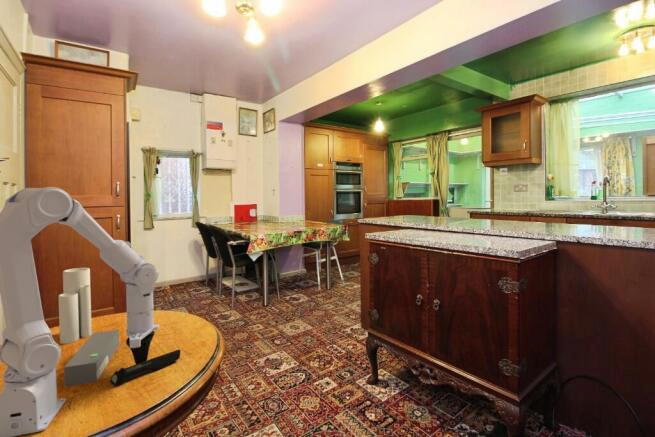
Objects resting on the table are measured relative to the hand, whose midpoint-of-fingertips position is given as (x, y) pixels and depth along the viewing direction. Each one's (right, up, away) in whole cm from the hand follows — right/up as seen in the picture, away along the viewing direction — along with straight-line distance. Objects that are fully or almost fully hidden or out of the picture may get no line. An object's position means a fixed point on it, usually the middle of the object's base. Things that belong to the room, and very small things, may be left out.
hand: (141, 363), depth 79 cm
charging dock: (-13, -1, +2) cm, 13 cm away
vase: (-31, 0, +19) cm, 36 cm away
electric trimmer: (+2, -2, -1) cm, 3 cm away
